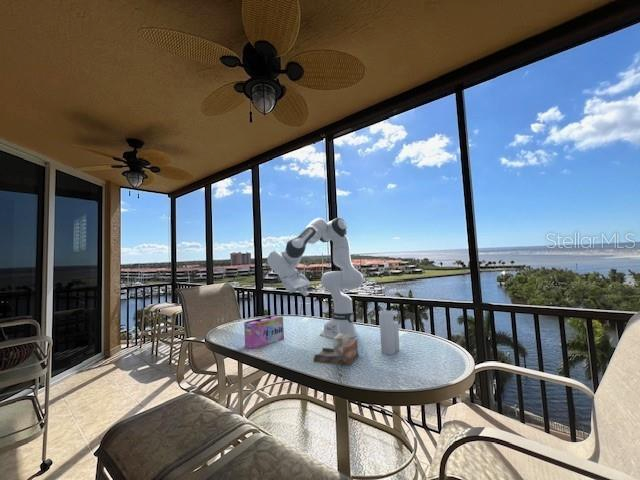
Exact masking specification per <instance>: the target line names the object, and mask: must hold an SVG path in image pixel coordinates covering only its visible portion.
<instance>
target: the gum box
mask: <svg viewBox="0 0 640 480" xmlns="http://www.w3.org/2000/svg"><path fill="white" fill-rule="evenodd" d="M283 317H284V316H283V315H282V316H280V315H278V314H274V315H269V316H264V317H261V318H257V319H253V320H247V321H244V322H243V326H244V328H243V329H244V347H246V348H248V347H249V348H250V349H257V348H260V347H263V346H266V345H268V344H269V345H270V344H272V343H275V342H279V341H282V340H285V331H284V318H283Z"/></svg>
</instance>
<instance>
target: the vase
mask: <svg viewBox="0 0 640 480" xmlns="http://www.w3.org/2000/svg"><path fill="white" fill-rule="evenodd" d="M378 314H379V331H380V348H381V349H380V353H381V354H382V355H385V356H393V355H395V354H396V352H399V351H400V335H399V321H397V320H396V321H395V320H394V311H393V310H379V313H378Z"/></svg>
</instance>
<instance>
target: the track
mask: <svg viewBox="0 0 640 480" xmlns="http://www.w3.org/2000/svg"><path fill="white" fill-rule="evenodd" d="M358 345H359V344H358V338H349V341H348V342H347V343H346V344H345V345H344V346H343V357H338V356H334V348H329V347H322V350H321V351H320V352H319V353H315V354H314V357H313V362H316V363H317V362H318V363H324V364H334V365H343V366H344V365H345V366H352V365H353V363H354V362H355V360H357V358H358V357H359V346H358Z"/></svg>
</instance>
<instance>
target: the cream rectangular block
mask: <svg viewBox="0 0 640 480" xmlns="http://www.w3.org/2000/svg"><path fill="white" fill-rule="evenodd" d="M349 340H350V338H349V334H341V333H339V334H338V335H337V336H335V337H334V339H333V349H334V356H338V357H343V346H344V345H345V344H346V343H347V342H348V341H349Z"/></svg>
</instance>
